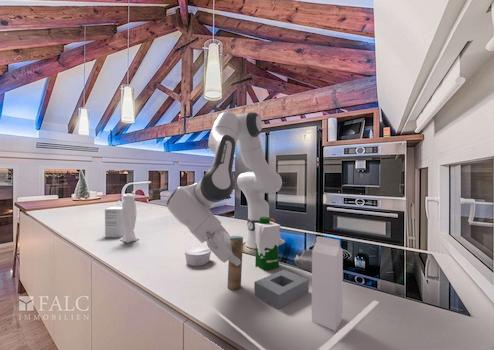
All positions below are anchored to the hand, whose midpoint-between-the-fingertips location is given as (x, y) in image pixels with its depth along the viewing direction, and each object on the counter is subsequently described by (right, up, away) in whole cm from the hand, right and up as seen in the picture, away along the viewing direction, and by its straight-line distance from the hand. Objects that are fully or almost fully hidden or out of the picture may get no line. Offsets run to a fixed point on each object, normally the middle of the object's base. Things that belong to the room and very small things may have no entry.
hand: (238, 258), depth 76 cm
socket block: (+14, -11, -4) cm, 18 cm away
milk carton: (+11, -11, +18) cm, 23 cm away
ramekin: (-18, -11, +24) cm, 32 cm away
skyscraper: (-63, -10, +54) cm, 84 cm away
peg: (-1, -10, 0) cm, 10 cm away
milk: (+23, -11, -16) cm, 31 cm away
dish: (+30, -11, +20) cm, 38 cm away
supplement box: (-77, -10, +66) cm, 102 cm away
